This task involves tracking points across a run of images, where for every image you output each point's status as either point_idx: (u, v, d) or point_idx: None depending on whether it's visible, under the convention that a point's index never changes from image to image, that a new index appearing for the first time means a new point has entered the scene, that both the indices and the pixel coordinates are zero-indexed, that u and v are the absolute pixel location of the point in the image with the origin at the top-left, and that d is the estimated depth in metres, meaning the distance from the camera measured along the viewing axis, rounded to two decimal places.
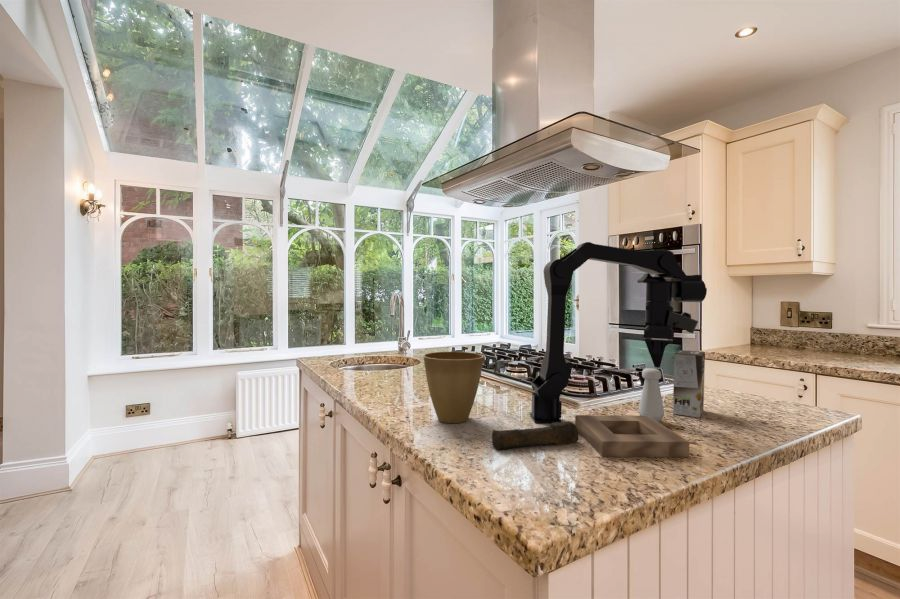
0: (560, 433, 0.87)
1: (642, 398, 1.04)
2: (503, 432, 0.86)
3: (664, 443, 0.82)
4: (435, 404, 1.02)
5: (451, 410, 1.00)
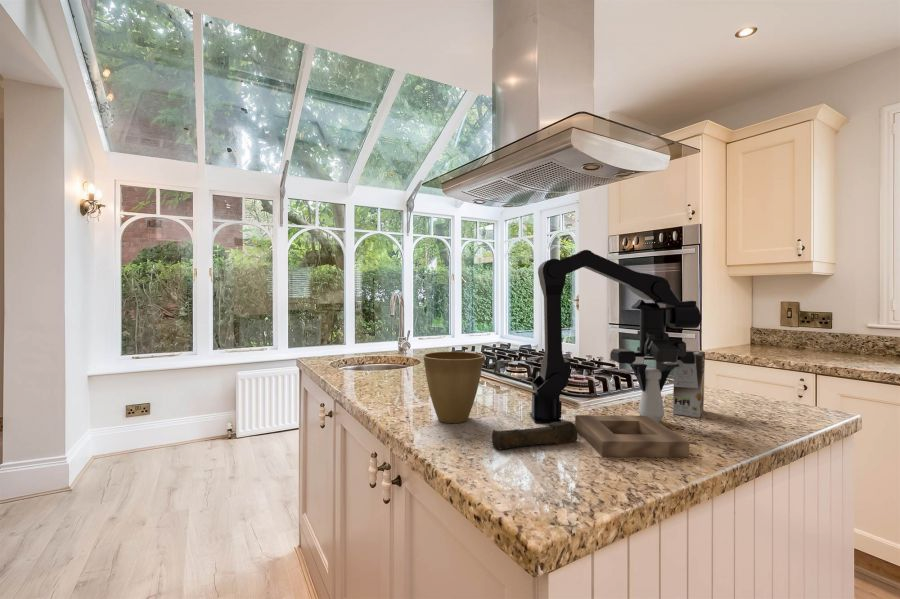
0: (559, 433, 0.88)
1: (642, 398, 1.04)
2: (503, 432, 0.85)
3: (664, 443, 0.82)
4: (435, 404, 1.02)
5: (451, 410, 1.00)
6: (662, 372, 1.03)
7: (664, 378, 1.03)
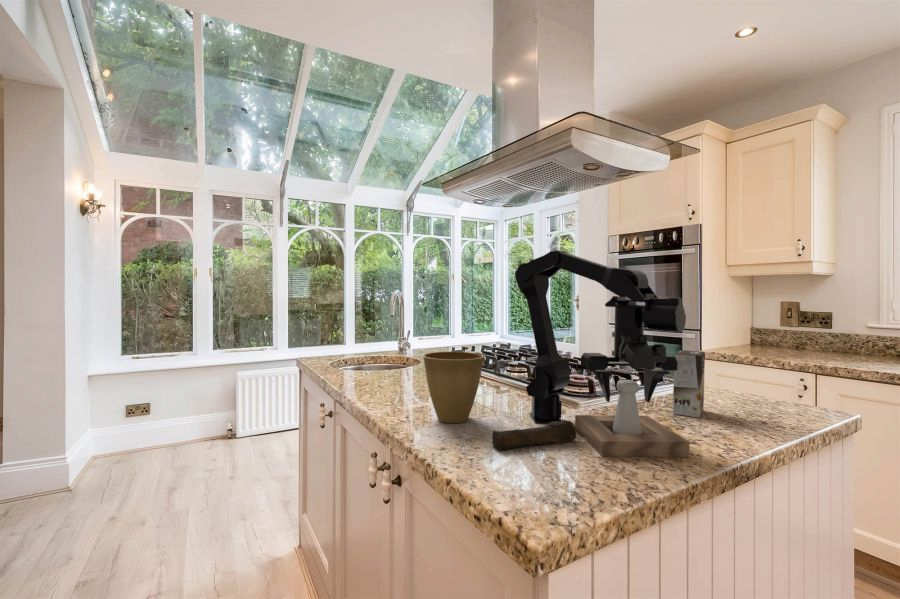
0: (559, 432, 0.88)
1: (616, 414, 0.90)
2: (504, 433, 0.85)
3: (664, 443, 0.82)
4: (435, 404, 1.02)
5: (451, 410, 1.00)
6: (650, 380, 0.89)
7: (652, 387, 0.89)
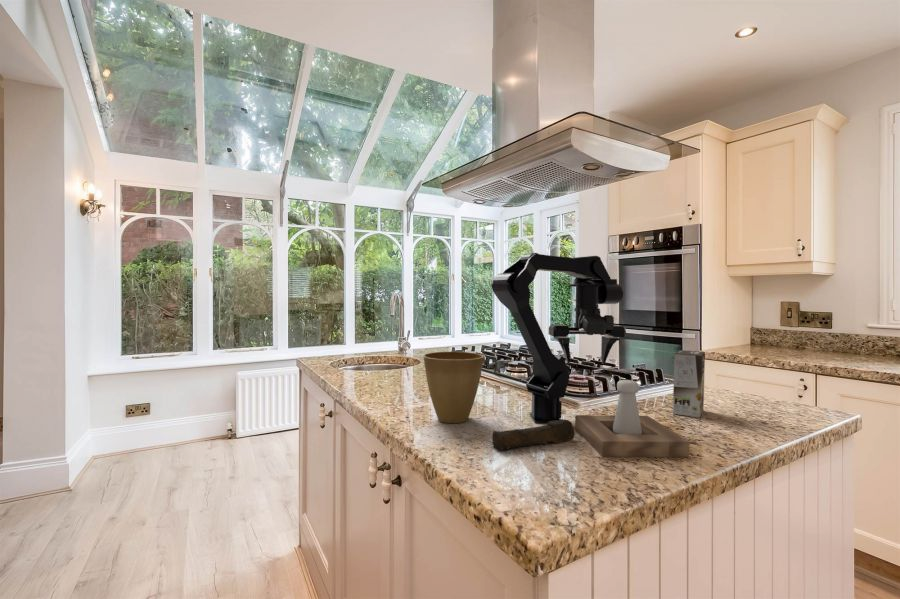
0: (558, 432, 0.88)
1: (617, 414, 0.90)
2: (504, 433, 0.85)
3: (664, 443, 0.82)
4: (435, 404, 1.02)
5: (451, 410, 1.00)
6: (605, 346, 1.10)
7: (607, 351, 1.10)
